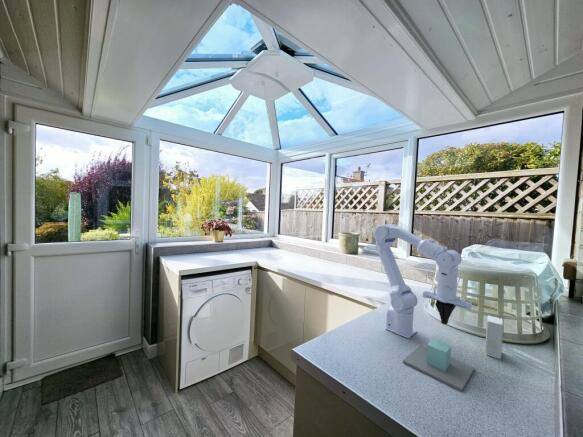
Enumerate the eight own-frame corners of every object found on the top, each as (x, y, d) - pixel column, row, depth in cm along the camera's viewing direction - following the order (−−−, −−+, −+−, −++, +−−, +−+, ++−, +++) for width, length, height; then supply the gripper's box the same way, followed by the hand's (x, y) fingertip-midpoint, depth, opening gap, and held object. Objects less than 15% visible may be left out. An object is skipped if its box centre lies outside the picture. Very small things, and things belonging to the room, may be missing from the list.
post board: (402, 362, 79) (403, 344, 78) (420, 346, 88) (421, 330, 88) (461, 391, 67) (463, 370, 66) (474, 369, 76) (475, 351, 76)
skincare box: (485, 347, 89) (487, 314, 88) (500, 351, 86) (503, 318, 86) (484, 354, 84) (487, 320, 84) (501, 359, 81) (503, 324, 81)
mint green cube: (426, 362, 78) (427, 344, 77) (432, 356, 81) (433, 338, 81) (444, 371, 74) (446, 352, 73) (450, 364, 77) (451, 345, 77)
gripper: (420, 281, 88) (418, 318, 88) (468, 293, 77) (465, 335, 77) (428, 278, 92) (425, 313, 93) (474, 289, 81) (472, 328, 82)
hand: (444, 323), depth 86 cm, fingers closed
